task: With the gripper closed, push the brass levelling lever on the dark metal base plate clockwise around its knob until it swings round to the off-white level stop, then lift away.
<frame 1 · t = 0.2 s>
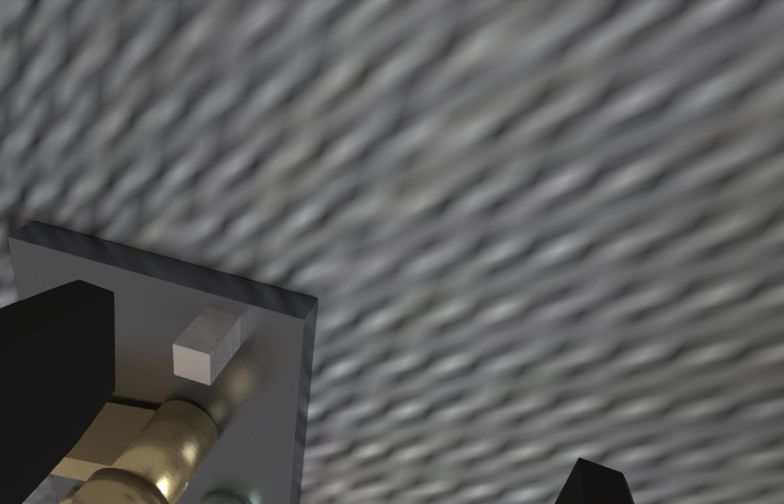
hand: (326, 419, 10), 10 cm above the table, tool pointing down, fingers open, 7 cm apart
base plate: (178, 428, 27), on the table
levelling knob: (98, 459, 23), point 4 cm above the table, hinge at 100.0°
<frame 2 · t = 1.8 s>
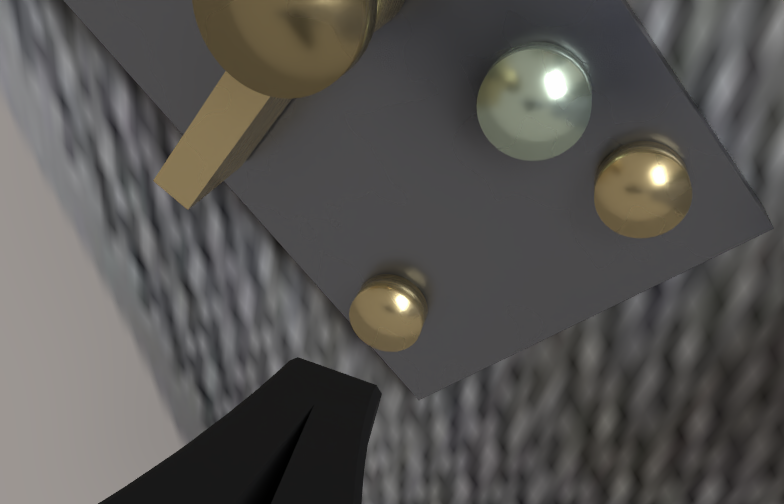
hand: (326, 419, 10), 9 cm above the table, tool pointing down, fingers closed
base plate: (389, 68, 17), on the table
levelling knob: (263, 71, 14), point 4 cm above the table, hinge at 100.0°
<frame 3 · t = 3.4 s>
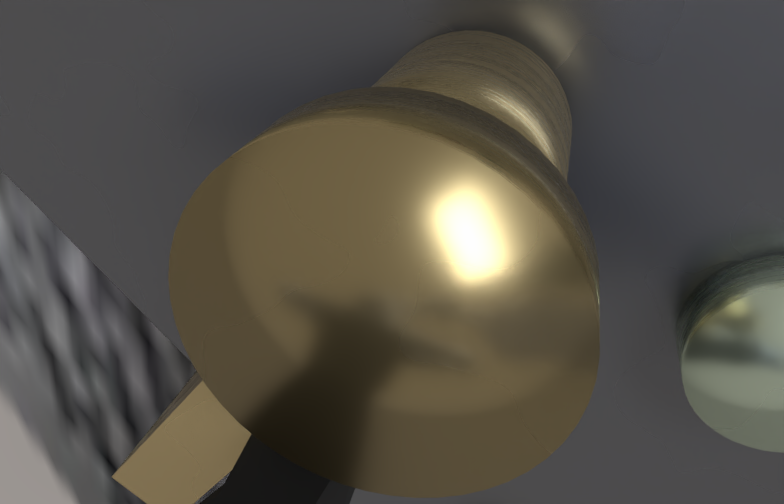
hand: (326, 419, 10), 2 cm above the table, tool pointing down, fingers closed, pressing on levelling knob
base plate: (498, 249, 10), on the table
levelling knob: (308, 328, 8), point 4 cm above the table, hinge at 99.9°, touching gripper
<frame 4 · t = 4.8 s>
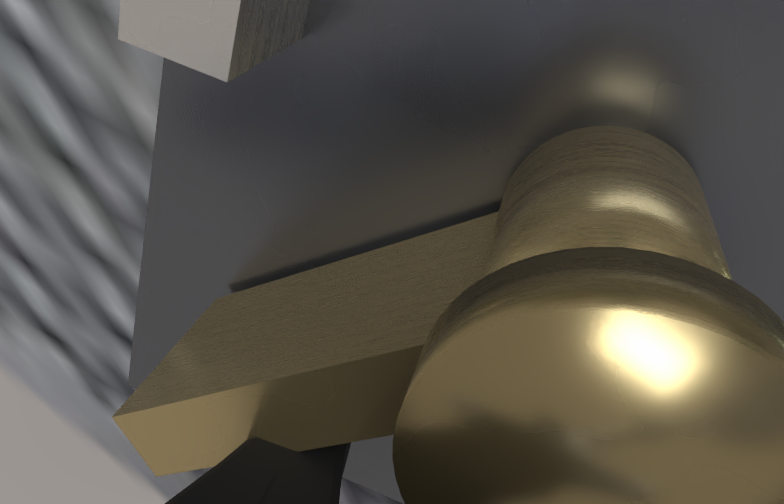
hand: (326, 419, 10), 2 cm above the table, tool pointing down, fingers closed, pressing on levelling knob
base plate: (688, 298, 10), on the table
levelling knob: (403, 362, 7), point 4 cm above the table, hinge at 42.7°, touching gripper
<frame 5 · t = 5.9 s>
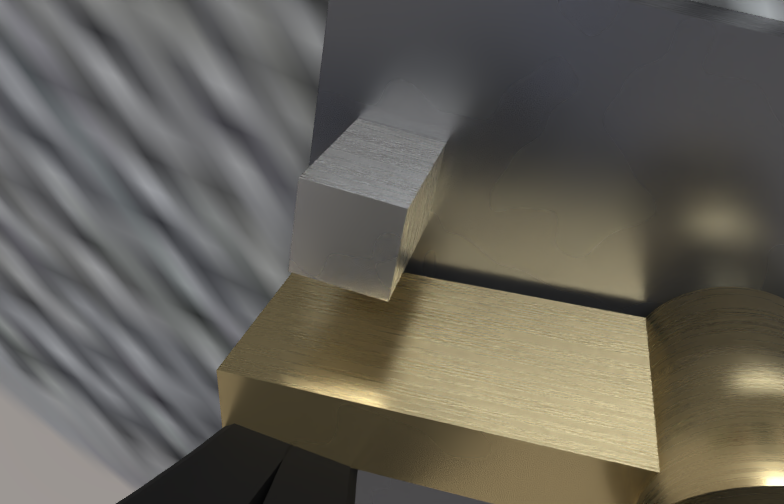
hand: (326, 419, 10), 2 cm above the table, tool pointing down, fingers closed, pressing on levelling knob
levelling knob: (544, 443, 7), point 4 cm above the table, hinge at 7.1°, touching gripper
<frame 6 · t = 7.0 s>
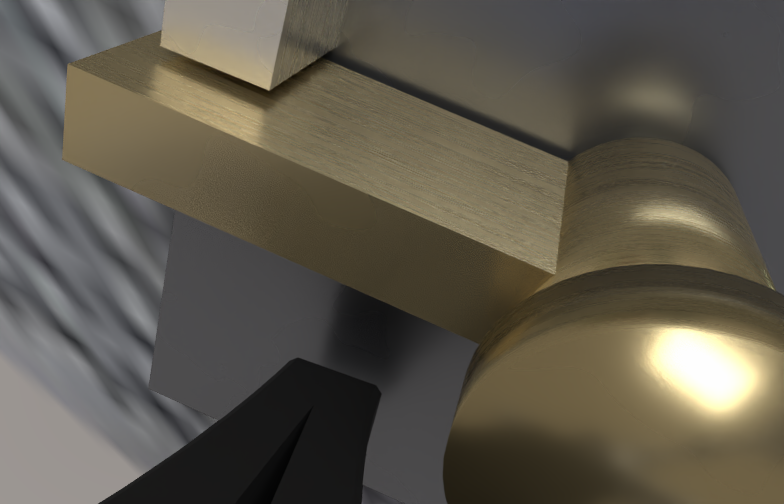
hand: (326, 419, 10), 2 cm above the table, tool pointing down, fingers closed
base plate: (716, 310, 10), on the table
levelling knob: (434, 242, 7), point 4 cm above the table, hinge at -0.9°
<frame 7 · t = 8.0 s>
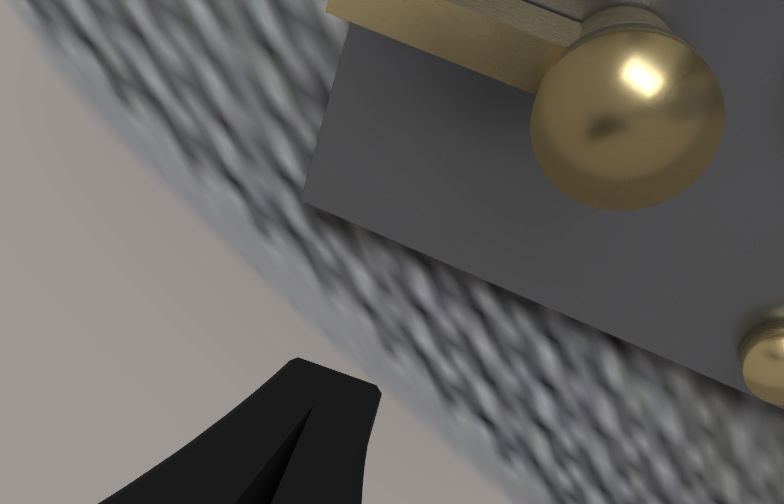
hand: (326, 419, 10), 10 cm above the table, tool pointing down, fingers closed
base plate: (669, 130, 16), on the table
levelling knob: (515, 50, 13), point 4 cm above the table, hinge at 0.8°
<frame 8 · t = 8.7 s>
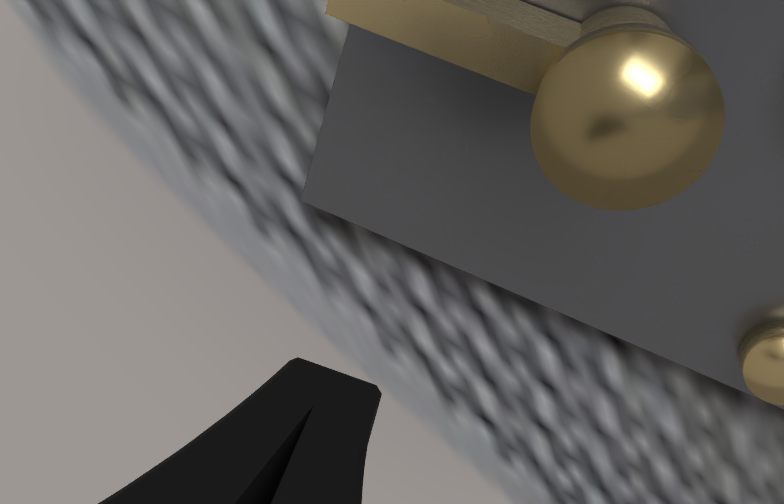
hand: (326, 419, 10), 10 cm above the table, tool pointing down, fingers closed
base plate: (669, 130, 16), on the table
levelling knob: (514, 50, 13), point 4 cm above the table, hinge at 1.1°
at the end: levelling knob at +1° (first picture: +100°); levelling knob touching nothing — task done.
